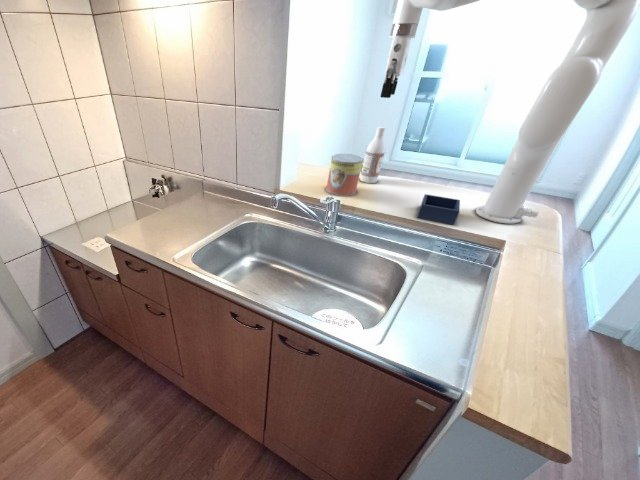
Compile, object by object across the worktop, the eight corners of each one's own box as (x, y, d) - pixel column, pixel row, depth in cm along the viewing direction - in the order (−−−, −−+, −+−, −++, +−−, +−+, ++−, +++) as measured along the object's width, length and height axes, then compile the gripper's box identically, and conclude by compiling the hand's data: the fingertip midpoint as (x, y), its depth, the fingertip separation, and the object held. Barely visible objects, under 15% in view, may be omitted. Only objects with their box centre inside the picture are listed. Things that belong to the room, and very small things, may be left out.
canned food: (320, 190, 125) (325, 158, 117) (334, 183, 132) (340, 152, 124) (347, 198, 119) (354, 164, 112) (360, 190, 126) (368, 157, 118)
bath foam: (371, 184, 131) (385, 130, 118) (356, 180, 134) (368, 127, 122) (380, 180, 134) (394, 127, 122) (364, 176, 138) (377, 124, 126)
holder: (454, 212, 109) (459, 199, 106) (453, 224, 102) (459, 211, 99) (420, 206, 113) (424, 194, 110) (417, 217, 106) (422, 204, 103)
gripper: (413, 31, 94) (395, 99, 105) (418, 32, 106) (401, 94, 117) (386, 31, 97) (371, 98, 108) (394, 32, 109) (380, 92, 120)
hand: (387, 95), depth 112 cm, fingers open, 9 cm apart
